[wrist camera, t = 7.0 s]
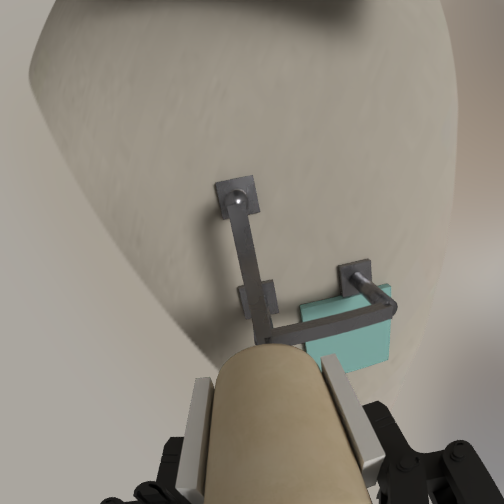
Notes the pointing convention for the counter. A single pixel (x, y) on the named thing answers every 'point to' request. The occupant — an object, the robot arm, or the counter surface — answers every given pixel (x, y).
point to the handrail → (263, 293)
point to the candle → (278, 434)
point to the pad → (349, 334)
